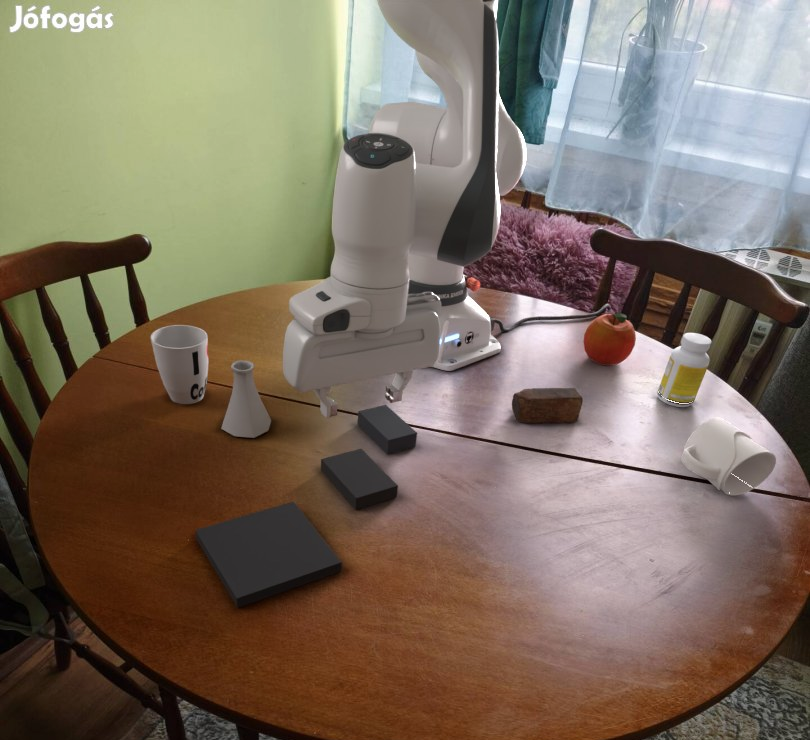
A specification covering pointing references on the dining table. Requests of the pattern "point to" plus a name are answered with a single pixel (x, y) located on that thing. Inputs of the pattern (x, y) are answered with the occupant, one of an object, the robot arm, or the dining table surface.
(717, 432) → the mug
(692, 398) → the pill bottle
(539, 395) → the brick
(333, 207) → the robot arm
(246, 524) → the base pad
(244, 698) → the dining table surface
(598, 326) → the fruit
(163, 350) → the cup
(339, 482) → the medium pad
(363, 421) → the top pad
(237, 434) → the flask
